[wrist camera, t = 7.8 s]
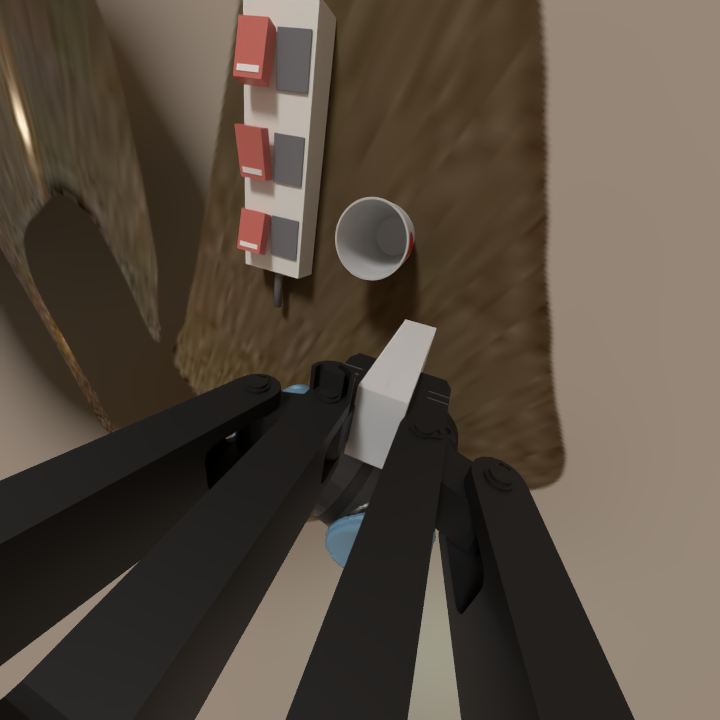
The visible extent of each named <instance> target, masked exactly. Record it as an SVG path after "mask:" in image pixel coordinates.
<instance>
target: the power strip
mask: <svg viewBox="0 0 720 720" xmlns="http://www.w3.org/2000/svg"><path fill="white" fill-rule="evenodd" d="M243 15H251V16H265V17H269V18H270V19H271V21H272V22H273V24H274V25H275V27H276V36H275V44H274V52H273V59H272V67H271V75H270V83H269V88H268V87H260V86H253V85H245V84H244V124H245V125H251V126H257V127H263V128H268V132H269V146H270V160H271V173H272V180H269V181H262V180H258V179H253V178H248V177H245V209H250V210H254V211H258V212H262V213H266V214H268V215H270V216H271V220H270V227H269V234H268V240H267V247H266V254H265V255H261V254H256V253H253V252H249V251H246V264H249V265H253V266H256V267H259V268H263V269H266V270H270V271H273V272H275V284H274V307H281V303H282V283H283V274H284V275H287V276H290V277H294V278H297V279H299V278H302V277H305V276H308V275H311V274H312V264H313V254H314V243H315V233H316V223H317V213H318V203H319V193H320V182H321V172H322V162H323V152H324V142H325V132H326V121H327V111H328V101H329V91H330V81H331V71H332V60H333V50H334V40H335V30H336V20H337V19H336V17H335V16H334V15H333V13H332V12H331V10H330V9H329V7H328V6H327V5H326V3H325V2H324V0H243Z"/></svg>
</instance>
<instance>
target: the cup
mask: <svg viewBox="0 0 720 720" xmlns="http://www.w3.org/2000/svg"><path fill="white" fill-rule="evenodd" d="M414 239H415V232H414V227H413V224H412V222H411V220H410V218H409V217H408V215H407V214H406V213H405V211H404V210H402V209H401V208H400V207H399V206H397V205H395V204H393V203H391V202H389V201H387V200H385V199H382V198H378V197H366V198H362V199H359V200H357V201H355V202H354V203H352V204H351V205H350V206H349V207H348V208H347V209H346V210H345V211H344V212H343V214H342V215H341V217H340V219H339V222H338V224H337V228H336V234H335V243H336V249H337V253H338V256H339V258H340V260H341V262H342V263H343V265H344V266H345V267H346V269H347V270H348V271H349V272H351V273H352V274H353V275H355V276H357V277H359V278H361V279H365V280H380V279H383V278H386V277H388V276H389V275H391V274H392V273H394V272H395V271H396V270H397V269H398V268H399V267H400V266H401V265H402V264H403V263H404V262H405V261H406V260H407V258H408V257H409V255H410V253H411V251H412V248H413V244H414Z"/></svg>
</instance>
